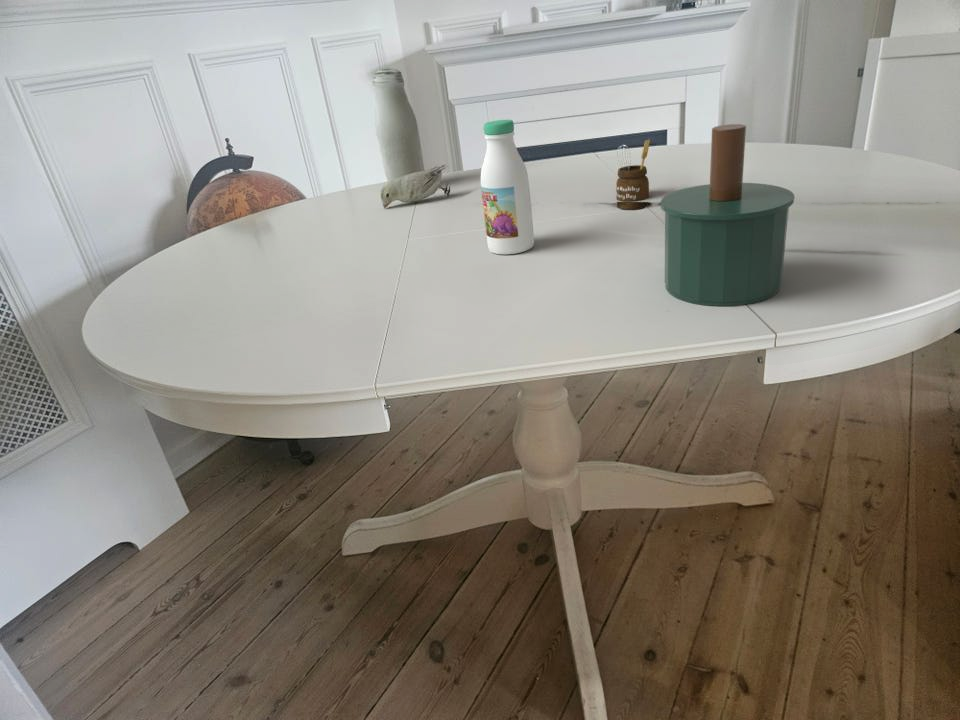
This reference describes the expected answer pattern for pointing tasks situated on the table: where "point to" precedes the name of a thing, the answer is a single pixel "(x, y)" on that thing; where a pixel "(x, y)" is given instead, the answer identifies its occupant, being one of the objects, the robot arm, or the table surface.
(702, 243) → the canister
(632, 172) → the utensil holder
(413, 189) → the decorative bird
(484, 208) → the milk bottle
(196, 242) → the table surface
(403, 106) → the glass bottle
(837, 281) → the table surface
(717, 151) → the lid
